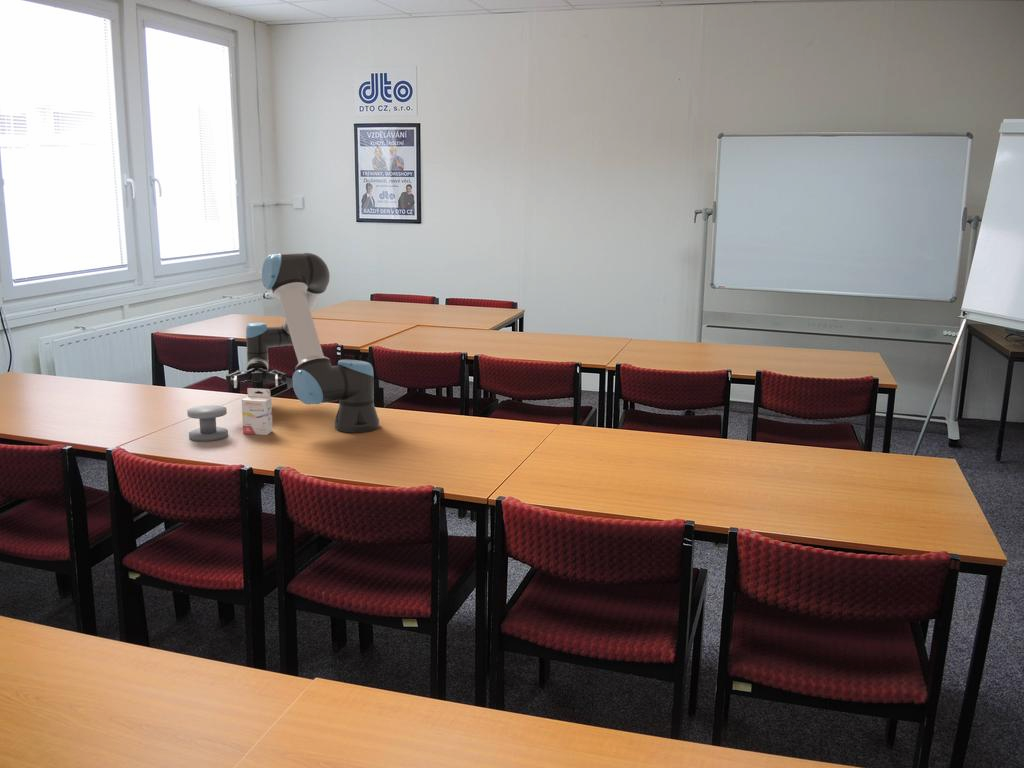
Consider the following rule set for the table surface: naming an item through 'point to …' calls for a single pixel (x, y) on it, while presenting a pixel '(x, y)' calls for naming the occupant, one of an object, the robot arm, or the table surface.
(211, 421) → the stand
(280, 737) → the table surface
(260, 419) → the ink cartridge box
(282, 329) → the robot arm
